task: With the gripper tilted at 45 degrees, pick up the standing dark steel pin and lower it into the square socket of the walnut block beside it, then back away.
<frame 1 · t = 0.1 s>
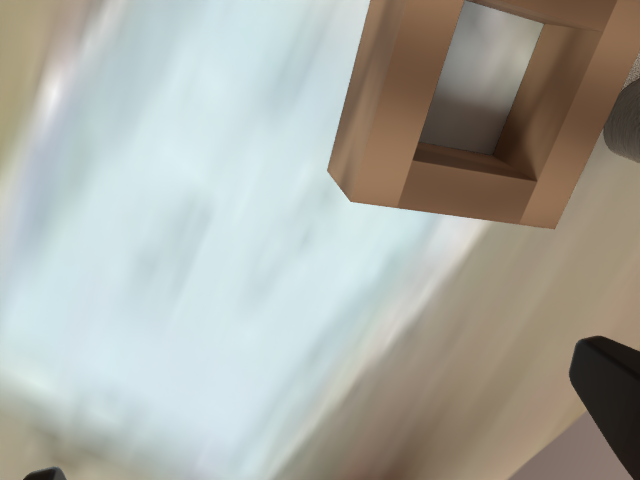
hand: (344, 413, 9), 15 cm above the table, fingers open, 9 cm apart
socket block: (461, 79, 22), on the table
pin: (638, 117, 25), on the table
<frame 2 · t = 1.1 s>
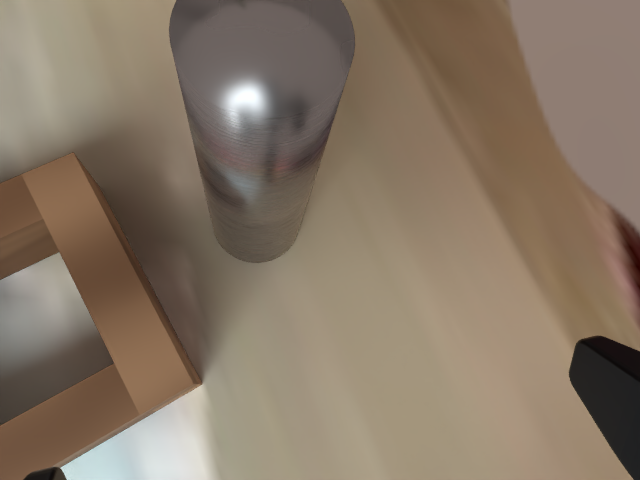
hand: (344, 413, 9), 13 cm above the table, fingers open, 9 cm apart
socket block: (34, 340, 21), on the table
pin: (256, 220, 23), on the table
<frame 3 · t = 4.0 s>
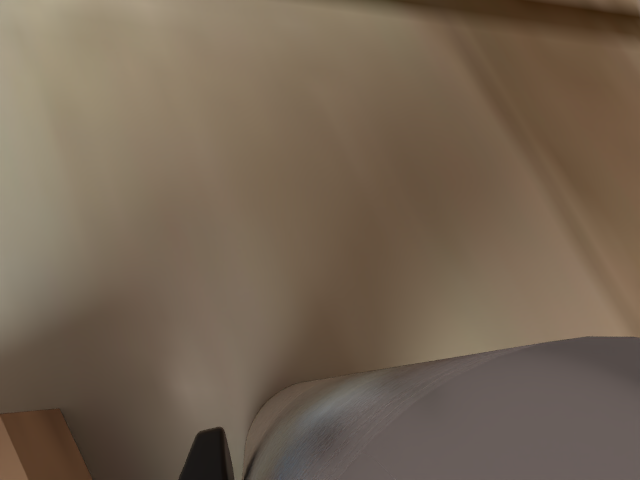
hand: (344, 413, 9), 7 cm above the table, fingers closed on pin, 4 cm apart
pin: (314, 453, 14), on the table, touching gripper
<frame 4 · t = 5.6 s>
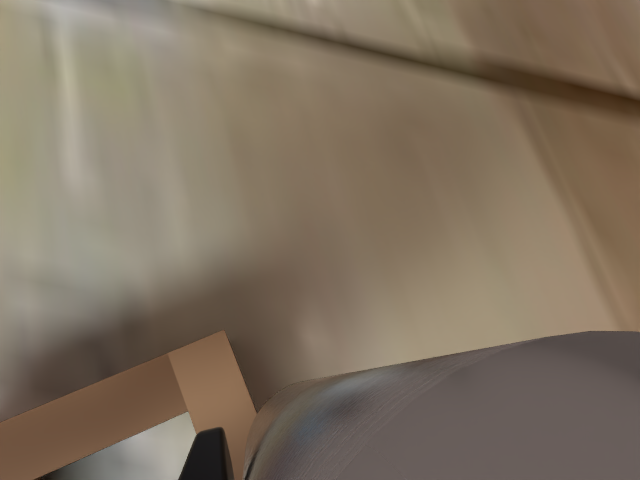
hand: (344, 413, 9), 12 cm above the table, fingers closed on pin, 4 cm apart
pin: (315, 452, 14), point 6 cm above the table, touching gripper
when the fingers open (7 cm above the table, at t = 7.6 s): pin stays where it is, resting in socket block.
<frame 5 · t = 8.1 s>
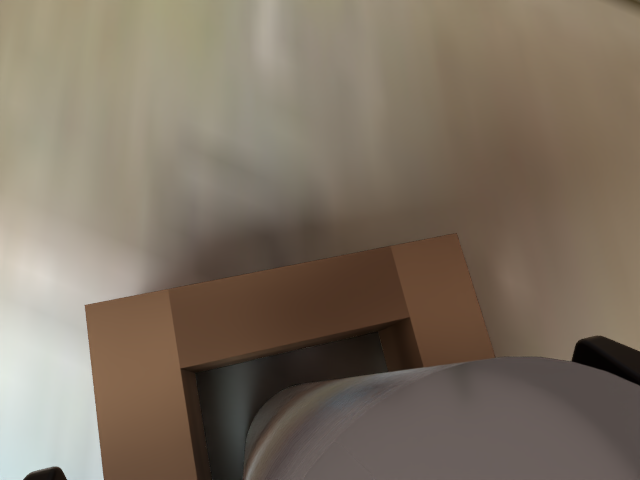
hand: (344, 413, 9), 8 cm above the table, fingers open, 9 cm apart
socket block: (310, 449, 15), on the table
pin: (310, 450, 15), resting in socket block
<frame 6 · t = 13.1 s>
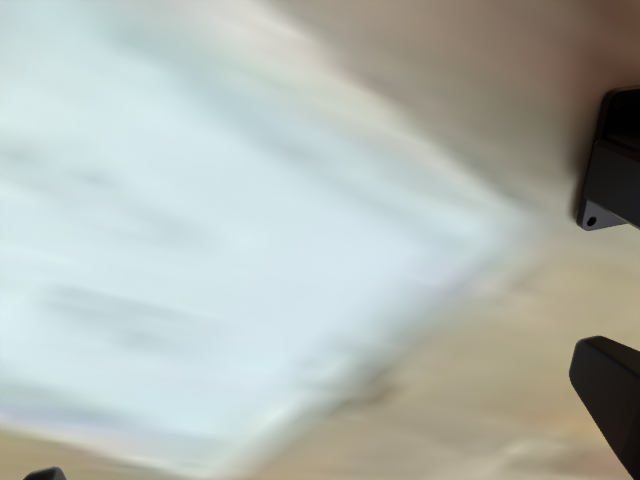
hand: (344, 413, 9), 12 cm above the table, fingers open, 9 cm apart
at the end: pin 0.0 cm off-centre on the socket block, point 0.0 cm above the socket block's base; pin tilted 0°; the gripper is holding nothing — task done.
